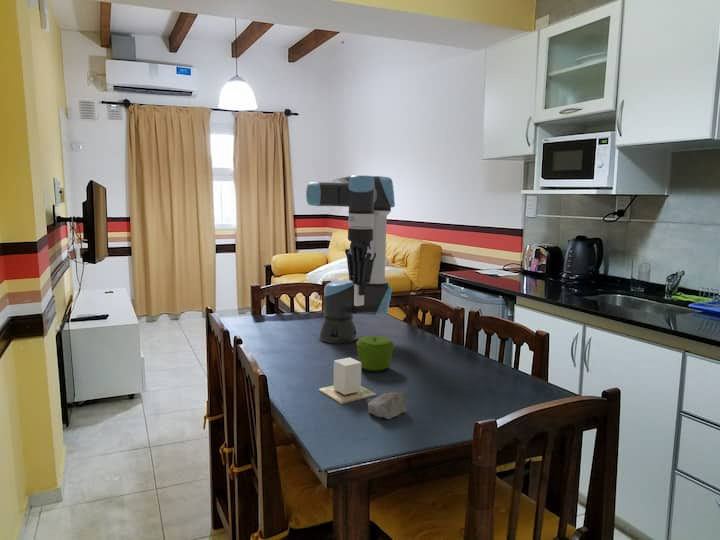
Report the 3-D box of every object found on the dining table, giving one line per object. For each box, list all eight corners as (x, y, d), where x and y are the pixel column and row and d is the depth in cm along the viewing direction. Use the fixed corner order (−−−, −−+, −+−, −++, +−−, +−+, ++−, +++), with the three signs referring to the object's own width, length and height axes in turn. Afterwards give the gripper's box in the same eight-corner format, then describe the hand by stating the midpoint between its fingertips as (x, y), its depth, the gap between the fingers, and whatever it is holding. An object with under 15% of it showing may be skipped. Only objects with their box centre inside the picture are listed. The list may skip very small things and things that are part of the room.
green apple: (366, 377, 170) (367, 343, 168) (349, 365, 181) (350, 333, 179) (399, 371, 176) (400, 338, 174) (381, 361, 186) (382, 329, 185)
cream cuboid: (349, 384, 160) (350, 357, 159) (360, 390, 155) (361, 362, 154) (333, 388, 157) (333, 360, 155) (344, 394, 152) (344, 366, 151)
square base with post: (351, 382, 164) (352, 354, 163) (375, 395, 155) (376, 365, 154) (318, 390, 157) (319, 361, 156) (341, 404, 148) (342, 373, 147)
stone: (363, 412, 143) (363, 391, 142) (392, 405, 148) (392, 385, 148) (381, 423, 136) (382, 401, 136) (410, 415, 142) (411, 394, 141)
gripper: (338, 226, 162) (336, 302, 165) (363, 229, 151) (361, 310, 155) (358, 226, 166) (356, 300, 169) (384, 229, 156) (381, 307, 159)
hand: (358, 305), depth 162 cm, fingers closed
